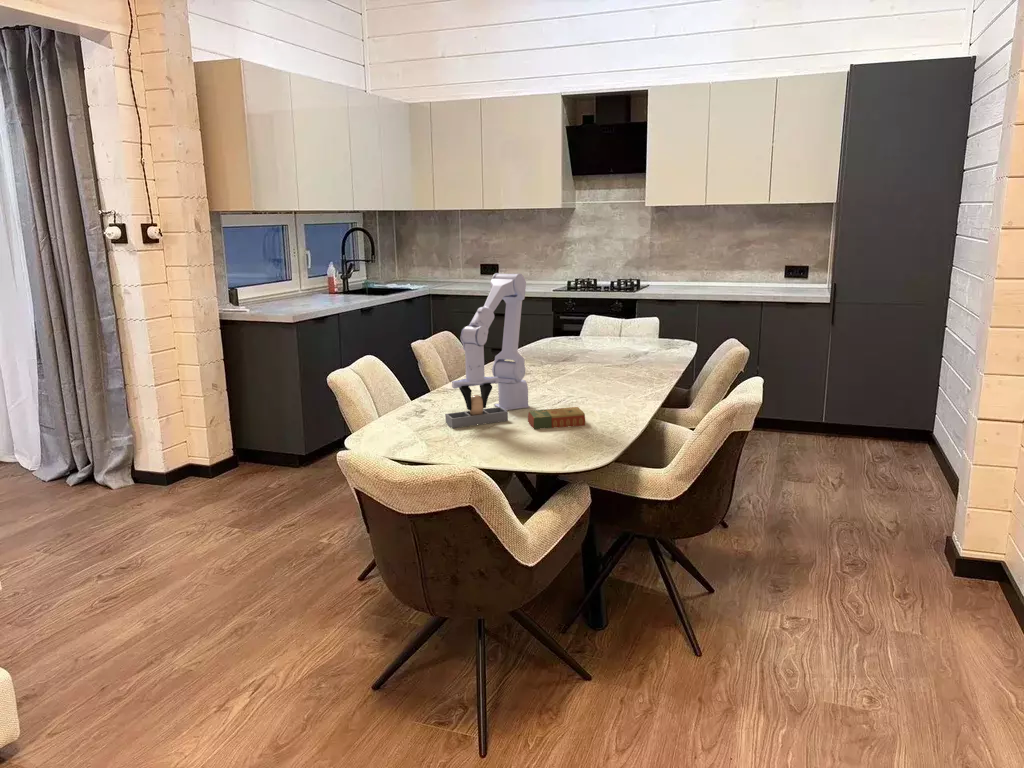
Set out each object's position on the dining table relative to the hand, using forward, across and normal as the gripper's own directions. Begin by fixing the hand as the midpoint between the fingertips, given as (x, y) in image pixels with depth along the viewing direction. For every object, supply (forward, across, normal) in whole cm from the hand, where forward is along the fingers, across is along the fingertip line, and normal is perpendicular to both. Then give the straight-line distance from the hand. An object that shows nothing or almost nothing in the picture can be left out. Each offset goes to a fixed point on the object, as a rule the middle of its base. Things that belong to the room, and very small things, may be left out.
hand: (476, 408), depth 231 cm
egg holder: (+4, 0, 0) cm, 4 cm away
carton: (+5, +21, -13) cm, 25 cm away
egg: (+2, 0, 0) cm, 2 cm away
